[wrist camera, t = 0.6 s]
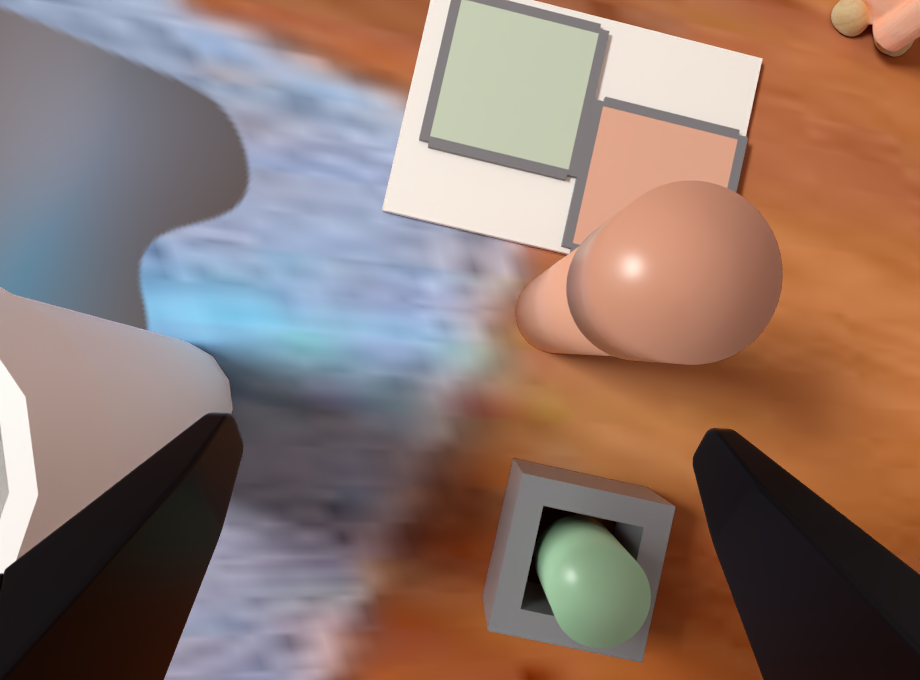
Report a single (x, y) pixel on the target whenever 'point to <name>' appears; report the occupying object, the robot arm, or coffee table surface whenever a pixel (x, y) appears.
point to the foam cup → (85, 410)
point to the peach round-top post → (661, 281)
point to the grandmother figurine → (880, 22)
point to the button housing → (528, 490)
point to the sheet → (560, 120)
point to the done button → (591, 582)
